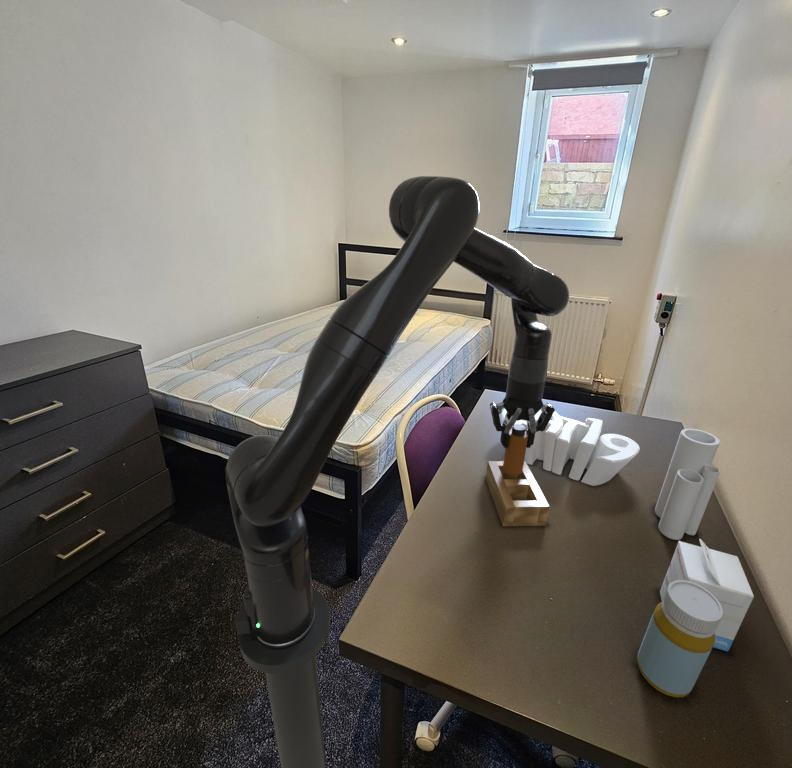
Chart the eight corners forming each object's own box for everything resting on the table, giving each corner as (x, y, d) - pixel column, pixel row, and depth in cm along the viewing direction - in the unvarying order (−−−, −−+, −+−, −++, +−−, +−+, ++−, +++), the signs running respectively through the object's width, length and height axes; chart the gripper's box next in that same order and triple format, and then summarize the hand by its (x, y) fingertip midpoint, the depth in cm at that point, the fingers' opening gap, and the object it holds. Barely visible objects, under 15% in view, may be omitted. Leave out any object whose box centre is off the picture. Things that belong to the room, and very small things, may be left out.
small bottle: (505, 475, 92) (512, 432, 87) (500, 463, 96) (506, 422, 91) (524, 475, 92) (532, 432, 88) (519, 463, 96) (525, 422, 92)
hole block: (502, 526, 85) (505, 507, 83) (485, 478, 100) (487, 460, 98) (546, 525, 86) (550, 506, 84) (522, 477, 101) (525, 460, 99)
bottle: (626, 649, 62) (653, 577, 56) (671, 648, 62) (702, 576, 56) (652, 700, 55) (685, 625, 50) (702, 699, 56) (741, 624, 50)
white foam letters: (485, 448, 112) (489, 414, 108) (509, 425, 125) (514, 393, 121) (622, 500, 94) (633, 461, 90) (635, 467, 107) (645, 432, 103)
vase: (652, 502, 94) (677, 425, 86) (688, 510, 92) (717, 432, 84) (660, 536, 84) (689, 453, 76) (700, 546, 82) (735, 462, 74)
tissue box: (729, 654, 62) (762, 590, 57) (666, 633, 65) (692, 570, 59) (714, 607, 69) (742, 546, 64) (658, 590, 72) (680, 530, 67)
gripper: (554, 368, 88) (541, 437, 95) (488, 368, 87) (480, 437, 94) (568, 382, 82) (553, 455, 88) (497, 381, 81) (488, 455, 87)
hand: (516, 445), depth 91 cm, fingers closed on small bottle, 4 cm apart
